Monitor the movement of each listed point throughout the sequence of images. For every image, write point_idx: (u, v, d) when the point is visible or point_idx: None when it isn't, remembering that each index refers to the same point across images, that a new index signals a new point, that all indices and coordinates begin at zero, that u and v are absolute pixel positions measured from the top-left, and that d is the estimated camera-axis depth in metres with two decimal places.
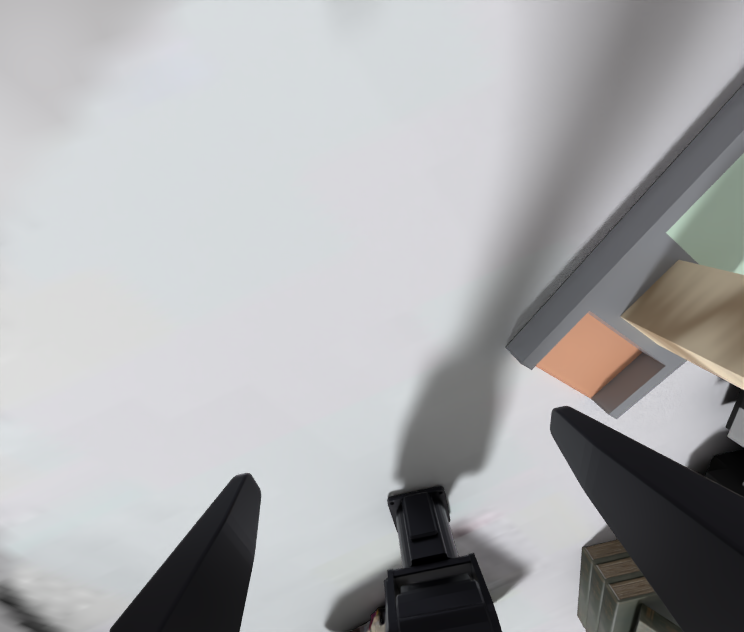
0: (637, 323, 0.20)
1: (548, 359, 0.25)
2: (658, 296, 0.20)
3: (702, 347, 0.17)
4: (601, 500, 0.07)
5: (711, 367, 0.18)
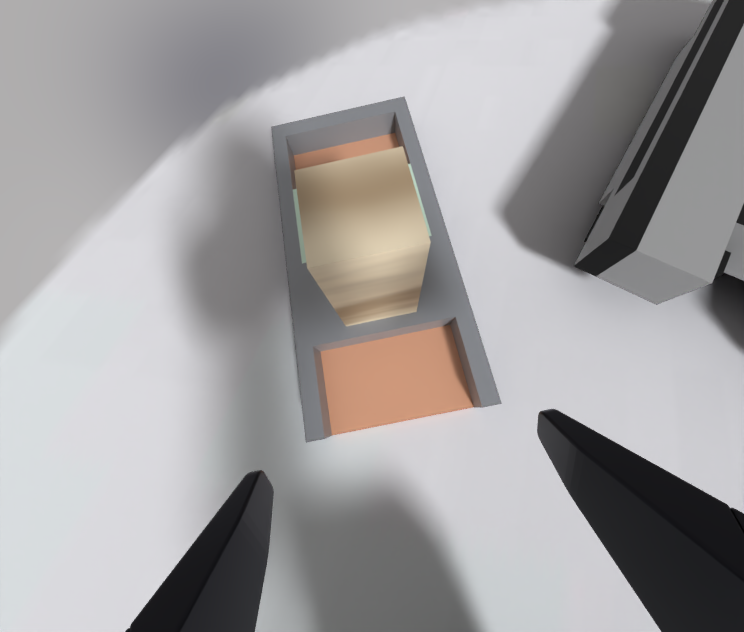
0: (342, 319, 0.19)
1: (367, 411, 0.20)
2: None
3: None
4: (585, 503, 0.07)
5: (372, 293, 0.15)
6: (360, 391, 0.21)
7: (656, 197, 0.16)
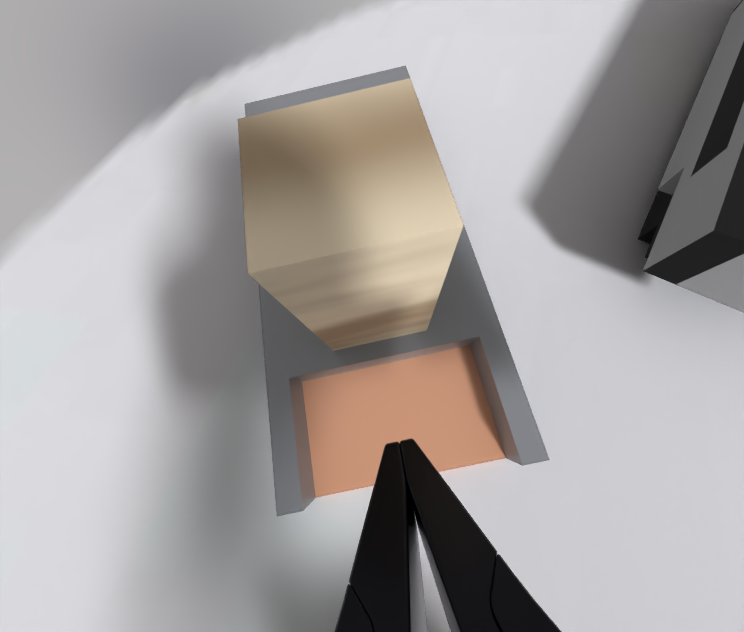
0: (327, 343, 0.14)
1: (362, 463, 0.15)
2: None
3: None
4: (421, 536, 0.07)
5: (366, 310, 0.10)
6: (353, 435, 0.16)
7: None
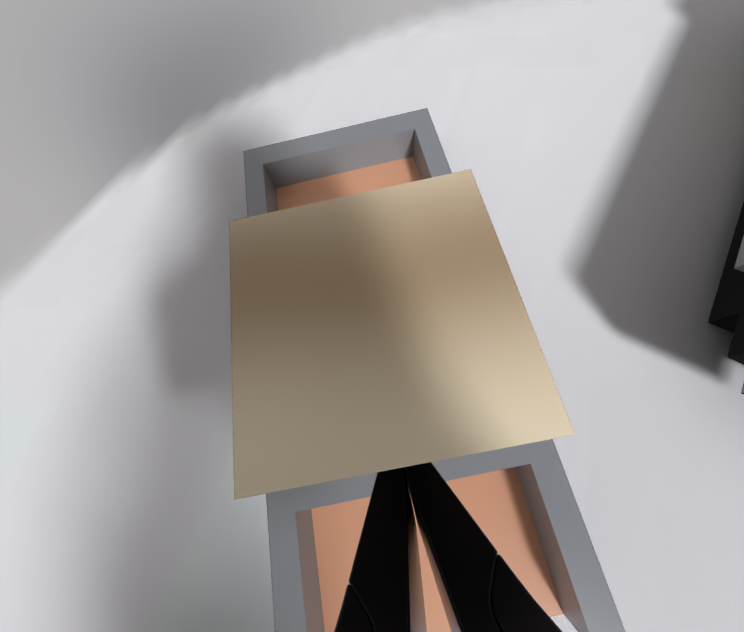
0: None
1: None
2: None
3: None
4: (422, 536, 0.07)
5: None
6: None
7: None
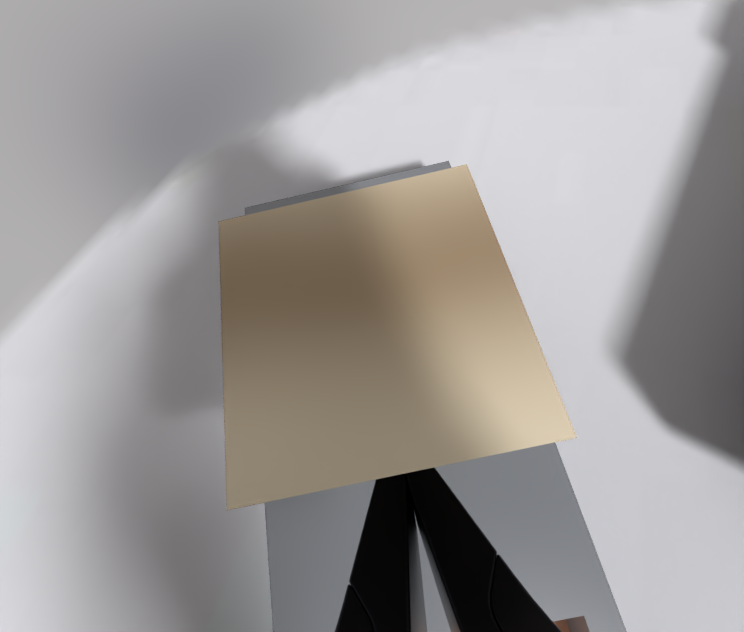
0: None
1: None
2: None
3: None
4: (421, 537, 0.07)
5: None
6: None
7: None
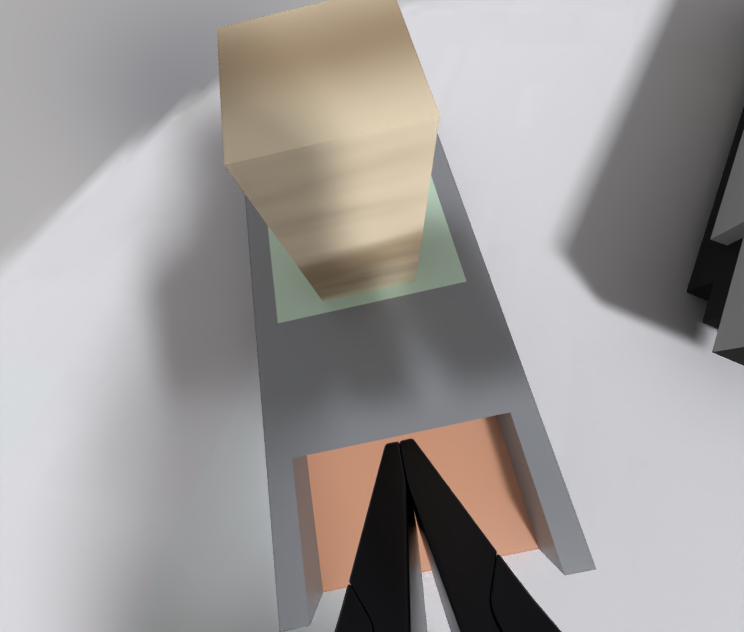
0: None
1: None
2: None
3: None
4: (421, 536, 0.07)
5: (350, 240, 0.10)
6: None
7: None
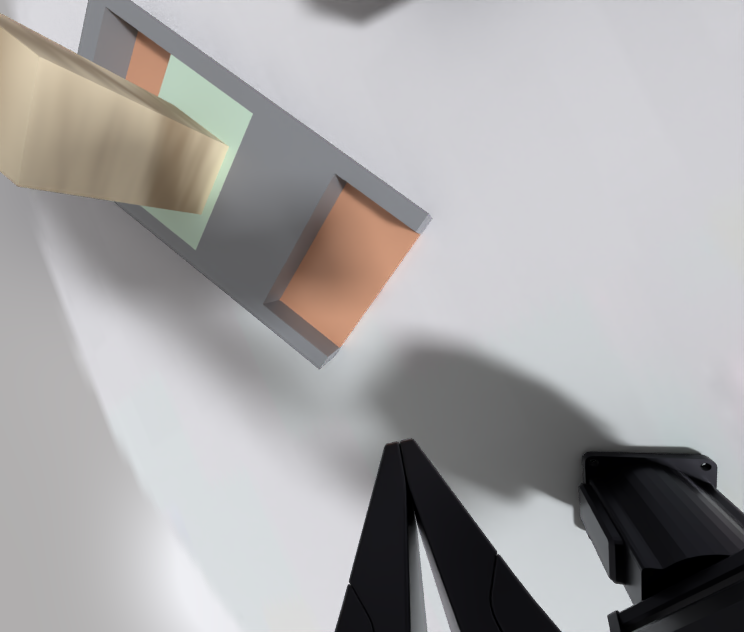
0: (183, 211, 0.19)
1: (347, 311, 0.21)
2: None
3: None
4: (421, 536, 0.07)
5: (137, 163, 0.15)
6: (330, 301, 0.21)
7: None
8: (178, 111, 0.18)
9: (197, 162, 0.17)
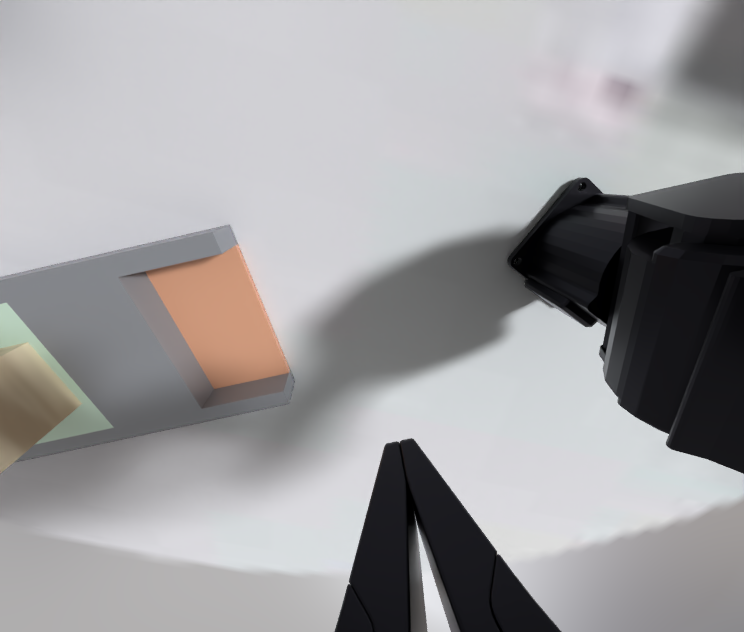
0: (63, 419, 0.18)
1: (262, 346, 0.21)
2: None
3: None
4: (421, 536, 0.07)
5: None
6: (244, 353, 0.21)
7: None
8: None
9: (18, 381, 0.16)
